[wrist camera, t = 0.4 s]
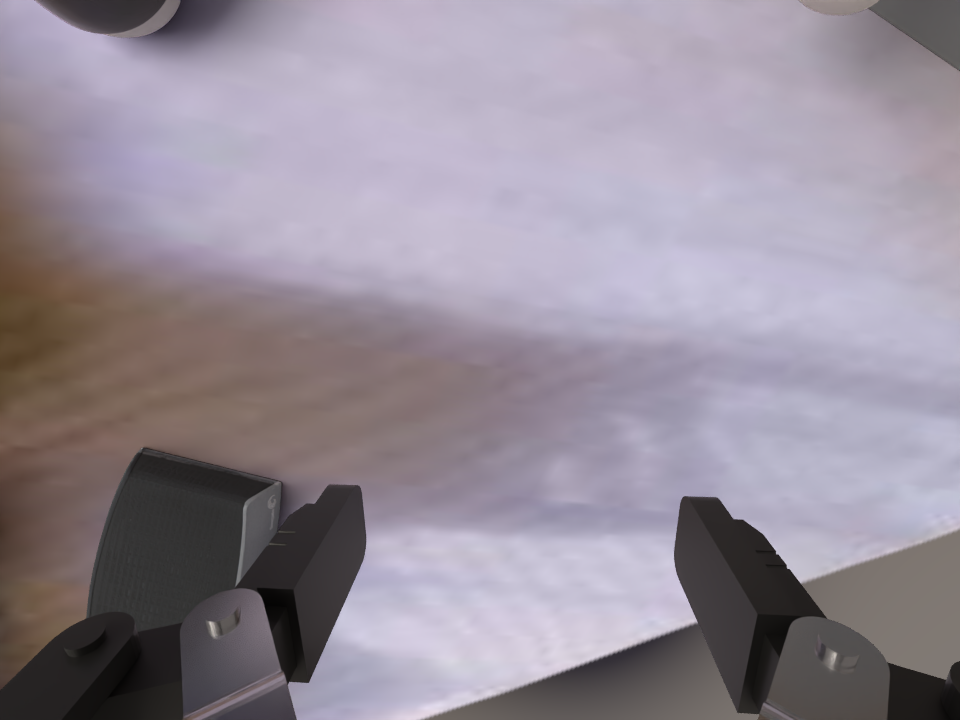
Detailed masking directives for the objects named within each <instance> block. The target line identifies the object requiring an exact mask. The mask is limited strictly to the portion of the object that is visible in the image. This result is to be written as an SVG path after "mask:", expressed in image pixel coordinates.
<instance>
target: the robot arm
mask: <svg viewBox="0 0 960 720" xmlns="http://www.w3.org/2000/svg"><path fill="white" fill-rule="evenodd" d="M365 549H366V529H365V520H364V510H363V500H362V492H361V488H360V486H358V485H331V484H330V485H328V486H327V487H326V489H325V490H324V492H323V493H322V495H321V496H320V497H319V499H318V500H317V502H316V503H315V504H305V505H304V506H303V507H301V508H300V509H298V510H297V511H295V512H294V513H293V514H291V515H290V516H289V517H288V518H287V519H286V521H285V522H284V523H283V525H282V526H281V527H280V529H279V530H278V534H277V533H276V534H275V535H274V537H273V538H272V539H271V541H270V542H269V546H266V547H265V549H264V550H263V551H262V553H261V554H260V555H259V557H258V558H257V559H256V561H255V562H254V563H253V565H252V566H251V567H250V568H249V570H248V571H247V572H246V574H245V575H244V576H243V578H242V579H241V580H240V582H239V583H238V584H237V586H236V587H235V588H234V589H231V590H226V591H223V592H220V593H218V594H215V595H213V596H211V597H209V598H207V599H206V600H204V601H203V602H201V603H200V604H198V605H197V606H196V607H195V608H194V609H193V610H192V611H191V612H190V613H189V614H188V615H187V617H186V618H185V619H184V621H183V622H182V623H178V624H173V625H168V626H164V627H159V628H154V629H149V630H144V631H140V632H137V628H136V625H135V621H134V618H133V617H132V616H131V615H129V614H128V613H124V612H107V613H102V614H98V615H95V616H92V617H89V618H87V619H85V620H82V621H80V622H78V623H76V624H74V625H73V626H71V627H69V628H68V629H66V630H64V631H63V632H61V633H60V634H59V635H58V636H56V637H55V638H54V639H53V640H52V641H50V642H49V643H48V644H47V645H46V646H45V647H44V648H43V649H42V650H41V651H40V652H39V653H38V654H37V655H36V656H35V657H34V658H33V659H32V660H31V661H30V662H29V663H28V664H27V665H26V666H25V667H24V668H23V669H22V670H21V671H20V672H19V673H18V674H17V675H16V676H15V677H13V678H12V679H11V680H10V681H9V682H8V683H7V684H6V685H5V686H4V687H3V688H2V689H1V690H0V720H297V719H296V715H295V711H294V708H293V704H292V700H291V696H290V693H289V689H288V683H289V682H302V683H309V681H310V679H311V677H312V674H313V672H314V670H315V668H316V665H317V663H318V661H319V659H320V656H321V654H322V652H323V650H324V647H325V645H326V643H327V641H328V638H329V636H330V634H331V632H332V629H333V627H334V625H335V623H336V620H337V618H338V616H339V614H340V611H341V609H342V607H343V605H344V603H345V600H346V598H347V596H348V594H349V591H350V589H351V587H352V585H353V582H354V580H355V578H356V576H357V573H358V571H359V569H360V567H361V564H362V562H363V559H364V555H365ZM674 560H675V567H676V572H677V575H678V578H679V580H680V583H681V585H682V587H683V590H684V592H685V594H686V596H687V599H688V601H689V603H690V606H691V608H692V610H693V612H694V615H695V617H696V619H697V621H698V624H699V626H700V628H701V630H702V633H703V635H704V637H705V640H706V642H707V644H708V646H709V649H710V651H711V653H712V656H713V658H714V660H715V662H716V665H717V667H718V669H719V672H720V674H721V676H722V678H723V681H724V683H725V685H726V688H727V690H728V692H729V694H730V697H731V699H732V701H733V703H734V705H735V708H736V710H737V712H738V713H751V714H759V717H758V720H960V661H959V662H956V663H954V664H953V665H952V667H951V669H950V672H949V675H948V677H947V680H944V679H941V678H937V677H934V676H931V675H927V674H924V673H920V672H917V671H914V670H910V669H906V668H903V667H900V666H897V665H894V664H890V663H888V662H886V660H885V658H884V656H883V655H882V654H881V652H880V651H879V650H878V649H877V648H876V647H875V646H874V645H873V644H872V643H871V642H870V641H868V640H867V639H866V638H865V637H863V636H862V635H860V634H859V633H857V632H855V631H854V630H852V629H851V628H849V627H847V626H845V625H843V624H840V623H838V622H835V621H832V620H829V619H827V618H826V616H825V615H824V614H823V612H822V611H821V610H820V609H819V607H818V606H817V605H816V603H815V602H814V601H813V600H812V598H811V597H810V595H809V594H808V593H807V591H806V590H805V589H804V588H803V586H802V585H801V584H800V582H799V581H798V580H797V578H796V577H795V576H794V574H793V573H792V572H791V570H790V569H787V565H786V564H785V563H784V561H783V560H782V559H781V557H780V556H779V555H776V551H775V549H774V548H773V547H772V546H771V544H770V543H769V542H768V540H767V539H766V538H765V536H764V535H763V534H762V533H760V532H759V531H758V530H756V529H755V528H754V527H752V526H751V525H749V524H748V523H747V522H745V521H744V520H737V519H733V518H732V517H731V515H730V514H729V512H728V511H727V509H726V508H725V507H724V505H723V504H722V502H721V501H720V500H719V499H718V498H716V497H689V496H684V497H683V498H682V500H681V503H680V510H679V518H678V525H677V533H676V541H675V549H674Z"/></svg>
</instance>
